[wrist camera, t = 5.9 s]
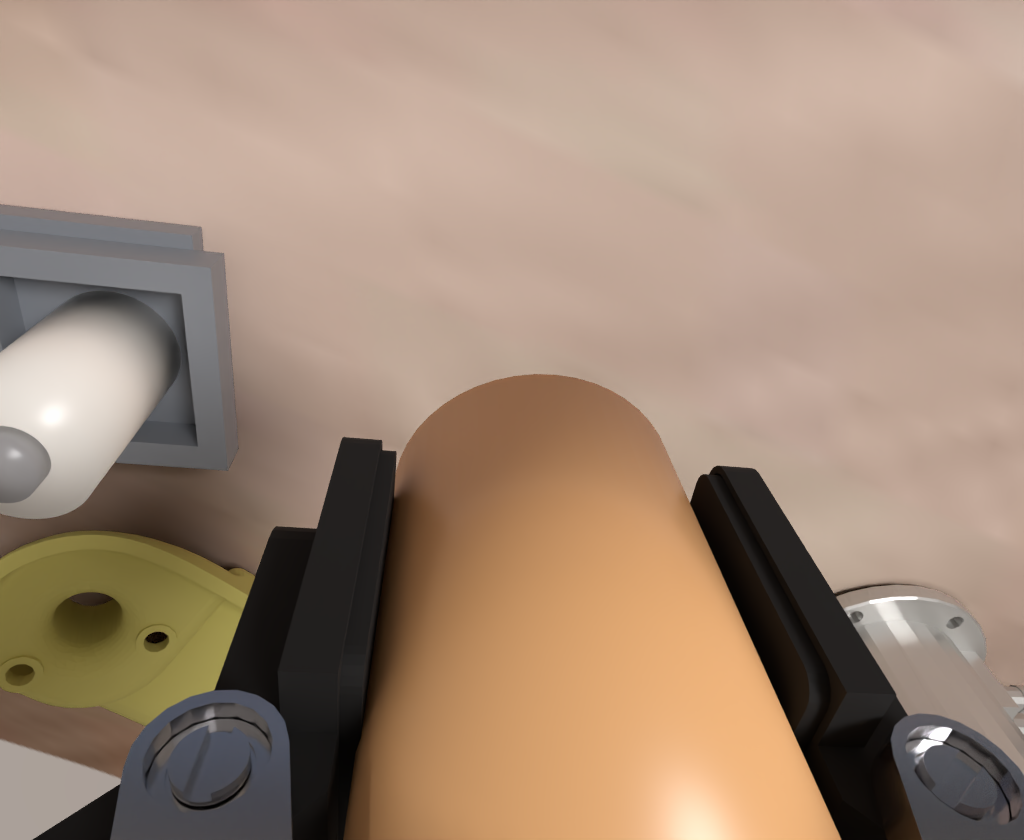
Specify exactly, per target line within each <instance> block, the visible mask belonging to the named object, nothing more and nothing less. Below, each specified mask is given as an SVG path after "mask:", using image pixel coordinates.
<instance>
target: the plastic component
mask: <svg viewBox="0 0 1024 840" xmlns="http://www.w3.org/2000/svg"><path fill="white" fill-rule="evenodd" d="M254 579H255V576H254V575H253V574H251V573H249V572H248V571H246V570H244V569H241V568H233V569H231V570H229V571H227V570H225V569H223V568H222V567H220V566H218V565H217V564H215V563H213V562H211V561H209V560H207V559H205V558H203V557H201V556H199V555H197V554H194V553H192V552H190V551H187V550H185V549H182V548H180V547H177V546H175V545H171V544H168V543H165V542H162V541H159V540H155V539H152V538H148V537H144V536H140V535H135V534H129V533H122V532H114V531H94V530H90V531H74V532H67V533H61V534H57V535H53V536H49V537H46V538H42V539H39V540H36V541H34V542H31V543H28V544H26V545H23V546H21V547H19V548H17V549H15V550H13V551H11V552H9V553H8V554H6V555H5V556H3V557H2V558H0V687H1V688H2V689H3V690H5V691H8V692H12V693H19V694H22V695H24V696H27V697H29V698H31V699H34V700H36V701H39V702H41V703H45V704H48V705H52V706H58V707H65V708H87V707H95V706H100V707H103V708H105V709H107V710H109V711H112V712H114V713H116V714H119V715H121V716H123V717H126V718H128V719H130V720H133V721H135V722H137V723H140V724H142V725H144V726H146V725H147V724H149V723H150V722H151V721H152V720H154V719H155V718H156V717H157V716H158V715H160V714H161V713H162V712H163V711H164V710H166V709H167V708H169V707H171V706H173V705H175V704H177V703H179V702H180V701H182V700H184V699H186V698H188V697H191V696H194V695H198V694H202V693H206V692H210V691H214V690H215V687H216V684H217V681H218V679H219V676H220V673H221V670H222V667H223V665H224V662H225V659H226V656H227V654H228V651H229V648H230V645H231V642H232V640H233V637H234V634H235V631H236V629H237V626H238V623H239V620H240V617H241V615H242V612H243V609H244V606H245V604H246V601H247V598H248V595H249V592H250V590H251V587H252V584H253V581H254ZM86 592H98V593H102V594H106V595H108V596H110V597H112V598H114V599H112V600H110V601H109V602H107V603H105V604H101V605H97V606H83V605H81V604H78V603H75V602H73V601H72V600H71V599H70V598H69V597H71V596H73V595H76V594H80V593H86ZM156 631H157V632H164V633H165V634H166V635H168V637H167V638H166V639H165V640H164V641H163V642H160V643H156V644H153V643H148V642H147V641H146V640H145V638H146V637H147V636H148V635H149V634H151V633H153V632H156Z"/></svg>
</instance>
